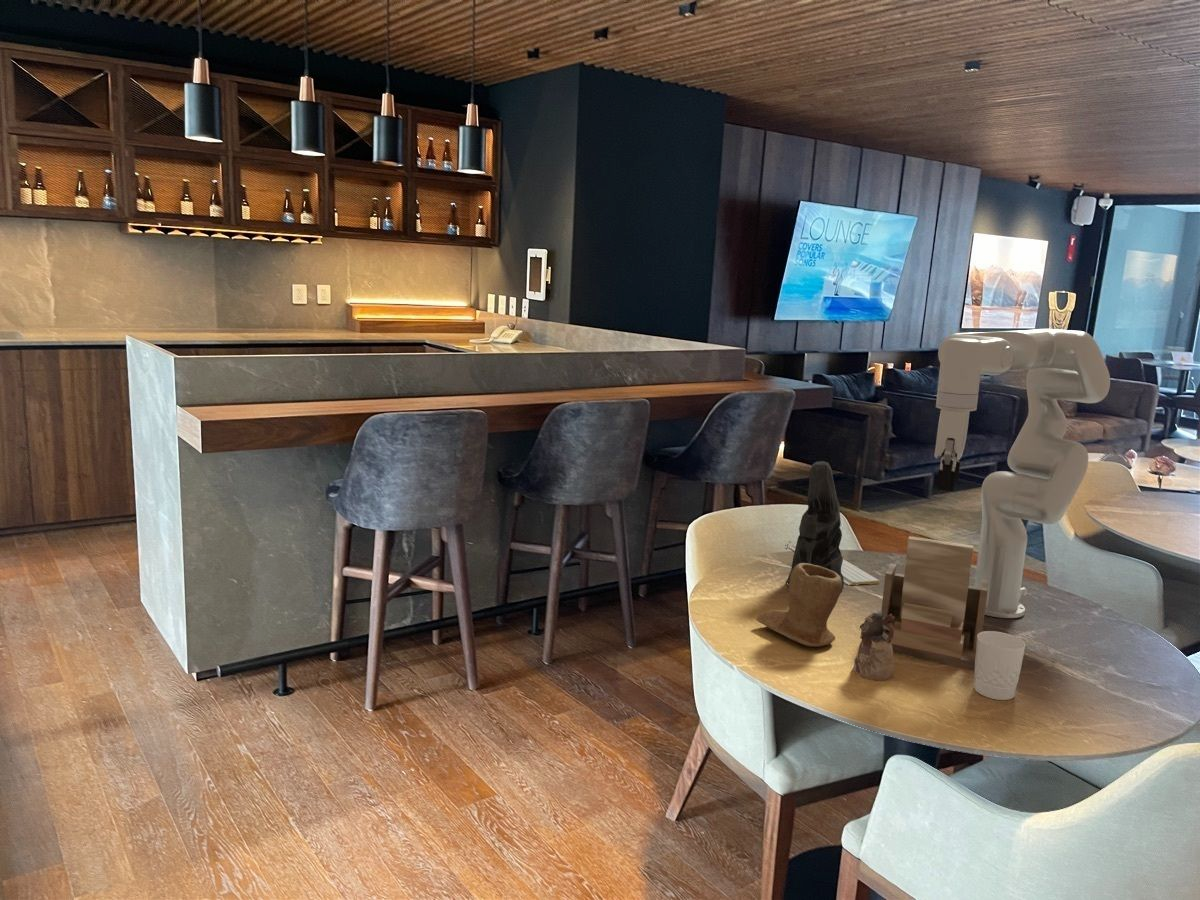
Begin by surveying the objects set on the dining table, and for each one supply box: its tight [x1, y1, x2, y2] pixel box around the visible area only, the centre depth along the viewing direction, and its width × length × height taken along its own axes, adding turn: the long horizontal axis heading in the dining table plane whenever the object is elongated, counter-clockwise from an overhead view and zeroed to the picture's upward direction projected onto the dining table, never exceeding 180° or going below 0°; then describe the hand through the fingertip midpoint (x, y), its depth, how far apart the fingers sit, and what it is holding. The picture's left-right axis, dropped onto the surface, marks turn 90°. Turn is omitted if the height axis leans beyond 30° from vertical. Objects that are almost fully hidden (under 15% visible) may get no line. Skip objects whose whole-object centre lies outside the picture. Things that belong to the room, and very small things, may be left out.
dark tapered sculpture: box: [786, 460, 845, 592], centre depth 208 cm, size 14×14×30 cm
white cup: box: [973, 630, 1026, 701], centre depth 157 cm, size 8×8×10 cm
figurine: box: [852, 610, 895, 681], centre depth 163 cm, size 7×7×12 cm
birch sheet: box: [900, 535, 974, 631], centre depth 176 cm, size 2×12×20 cm, turn 64°
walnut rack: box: [880, 563, 989, 671], centre depth 175 cm, size 14×19×14 cm
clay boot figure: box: [756, 563, 843, 648], centre depth 179 cm, size 15×12×15 cm
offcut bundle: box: [891, 603, 965, 658], centre depth 172 cm, size 5×13×8 cm, turn 64°
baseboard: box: [784, 541, 880, 586], centre depth 226 cm, size 30×3×10 cm
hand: (947, 485), depth 177 cm, fingers open, 9 cm apart
